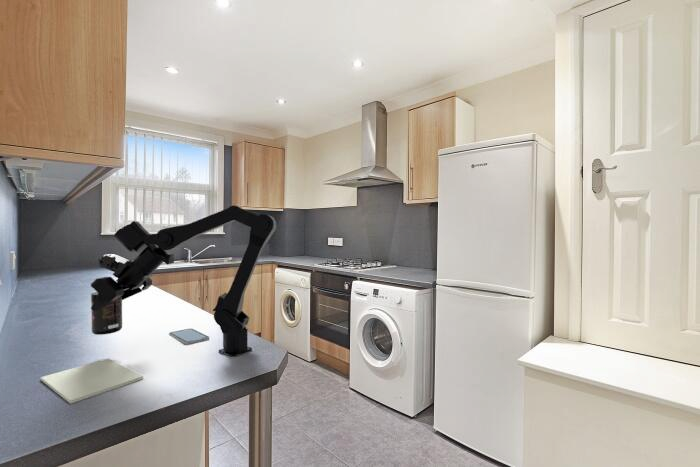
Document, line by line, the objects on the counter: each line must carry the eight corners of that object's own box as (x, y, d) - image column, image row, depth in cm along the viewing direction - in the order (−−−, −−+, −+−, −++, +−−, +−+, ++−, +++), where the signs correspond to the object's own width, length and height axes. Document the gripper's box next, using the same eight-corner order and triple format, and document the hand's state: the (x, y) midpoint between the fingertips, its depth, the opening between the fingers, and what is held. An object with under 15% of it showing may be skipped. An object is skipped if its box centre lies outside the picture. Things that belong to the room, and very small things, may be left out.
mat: (142, 378, 75) (142, 376, 75) (70, 403, 64) (70, 400, 64) (108, 360, 84) (108, 358, 84) (40, 379, 74) (40, 377, 74)
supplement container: (112, 326, 93) (111, 289, 93) (128, 329, 90) (128, 291, 90) (85, 333, 87) (84, 293, 86) (101, 336, 84) (101, 295, 84)
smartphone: (191, 328, 112) (210, 337, 102) (191, 330, 112) (210, 340, 102) (167, 332, 107) (185, 342, 96) (167, 335, 107) (185, 346, 96)
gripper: (140, 242, 98) (101, 280, 97) (98, 245, 79) (49, 292, 78) (168, 268, 99) (130, 306, 98) (134, 277, 80) (85, 324, 79)
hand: (101, 306), depth 88 cm, fingers closed on supplement container, 7 cm apart
